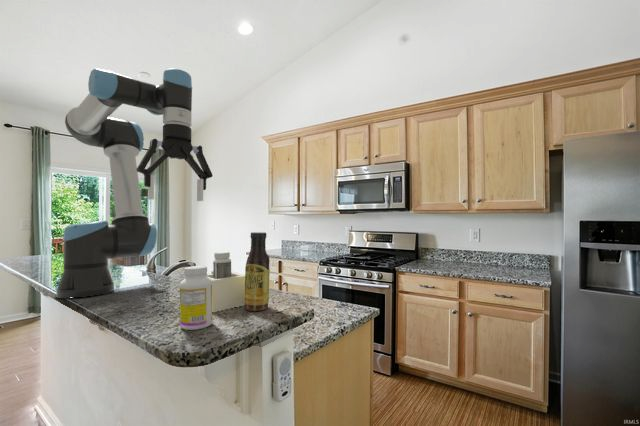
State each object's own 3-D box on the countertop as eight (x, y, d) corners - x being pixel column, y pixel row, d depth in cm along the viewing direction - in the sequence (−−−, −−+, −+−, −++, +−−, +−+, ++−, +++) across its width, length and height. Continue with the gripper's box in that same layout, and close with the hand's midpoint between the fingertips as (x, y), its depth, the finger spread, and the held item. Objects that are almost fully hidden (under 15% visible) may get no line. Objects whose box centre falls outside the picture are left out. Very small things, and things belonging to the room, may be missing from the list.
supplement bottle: (195, 319, 75) (195, 264, 75) (218, 322, 73) (218, 265, 73) (172, 329, 69) (172, 268, 69) (197, 332, 66) (197, 270, 67)
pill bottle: (235, 282, 89) (234, 251, 89) (223, 285, 85) (223, 253, 85) (221, 281, 91) (221, 251, 91) (209, 284, 87) (209, 252, 87)
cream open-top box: (194, 303, 89) (194, 272, 90) (227, 297, 96) (227, 268, 96) (212, 312, 81) (212, 278, 81) (248, 305, 87) (248, 273, 87)
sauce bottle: (239, 311, 81) (239, 232, 82) (252, 305, 87) (251, 231, 88) (263, 313, 79) (262, 232, 80) (274, 306, 85) (273, 231, 86)
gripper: (131, 113, 81) (131, 198, 81) (224, 131, 98) (223, 201, 98) (124, 119, 86) (123, 198, 86) (213, 135, 104) (212, 201, 104)
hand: (176, 200), depth 92 cm, fingers open, 13 cm apart
